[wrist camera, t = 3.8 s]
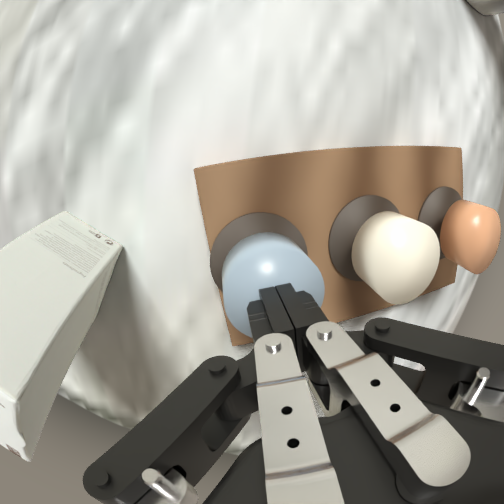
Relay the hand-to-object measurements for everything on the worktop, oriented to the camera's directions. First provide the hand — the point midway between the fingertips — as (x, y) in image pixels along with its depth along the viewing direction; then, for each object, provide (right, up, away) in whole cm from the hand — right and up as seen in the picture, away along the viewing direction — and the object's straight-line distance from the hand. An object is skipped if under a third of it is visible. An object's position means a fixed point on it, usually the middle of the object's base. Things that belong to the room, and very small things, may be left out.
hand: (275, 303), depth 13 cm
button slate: (0, +1, +3) cm, 3 cm away
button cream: (+8, +3, +4) cm, 9 cm away
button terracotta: (+15, +4, +4) cm, 16 cm away
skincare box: (-15, +1, +6) cm, 16 cm away
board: (+7, +4, +8) cm, 11 cm away
